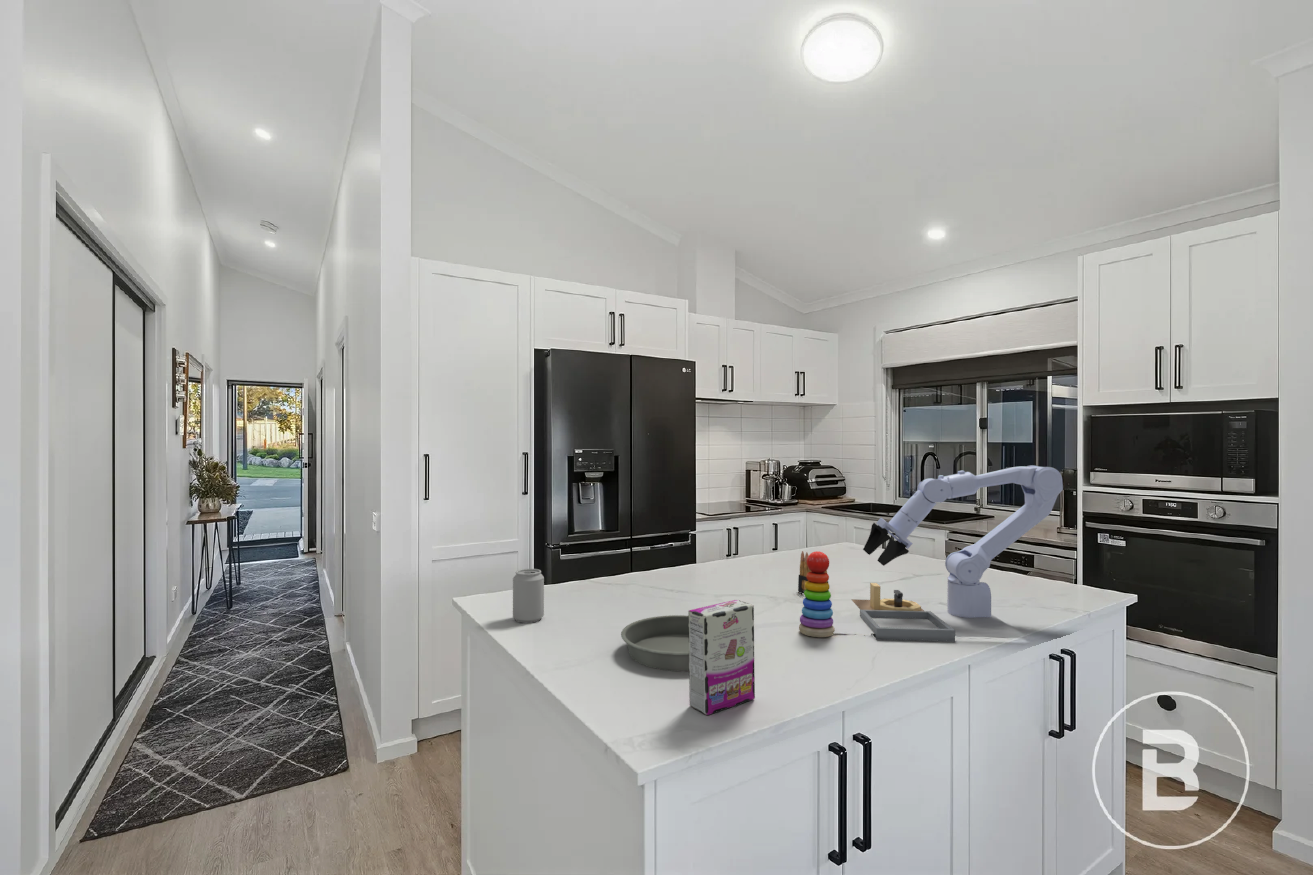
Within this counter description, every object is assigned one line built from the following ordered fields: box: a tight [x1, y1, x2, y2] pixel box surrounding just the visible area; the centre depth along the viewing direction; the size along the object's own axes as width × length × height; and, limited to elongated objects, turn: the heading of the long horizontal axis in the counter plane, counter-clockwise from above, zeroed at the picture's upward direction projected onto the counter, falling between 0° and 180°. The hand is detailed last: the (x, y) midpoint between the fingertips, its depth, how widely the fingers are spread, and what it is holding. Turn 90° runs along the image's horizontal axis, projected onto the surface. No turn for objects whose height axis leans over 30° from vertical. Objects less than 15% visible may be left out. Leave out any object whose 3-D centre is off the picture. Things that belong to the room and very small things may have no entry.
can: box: [512, 568, 545, 624], centre depth 155 cm, size 8×8×12 cm
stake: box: [893, 589, 904, 607], centre depth 162 cm, size 2×4×4 cm, turn 176°
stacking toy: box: [798, 551, 836, 638], centre depth 145 cm, size 8×8×19 cm
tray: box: [859, 609, 956, 643], centre depth 147 cm, size 17×15×2 cm
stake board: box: [851, 599, 925, 611], centre depth 163 cm, size 16×14×1 cm
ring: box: [869, 582, 922, 611], centre depth 162 cm, size 12×10×6 cm
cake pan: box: [620, 614, 689, 672], centre depth 132 cm, size 25×25×4 cm
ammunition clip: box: [797, 550, 830, 594], centre depth 178 cm, size 11×2×12 cm, turn 28°
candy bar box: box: [687, 599, 756, 716], centre depth 107 cm, size 11×5×16 cm, turn 126°
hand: (873, 557), depth 161 cm, fingers open, 7 cm apart
